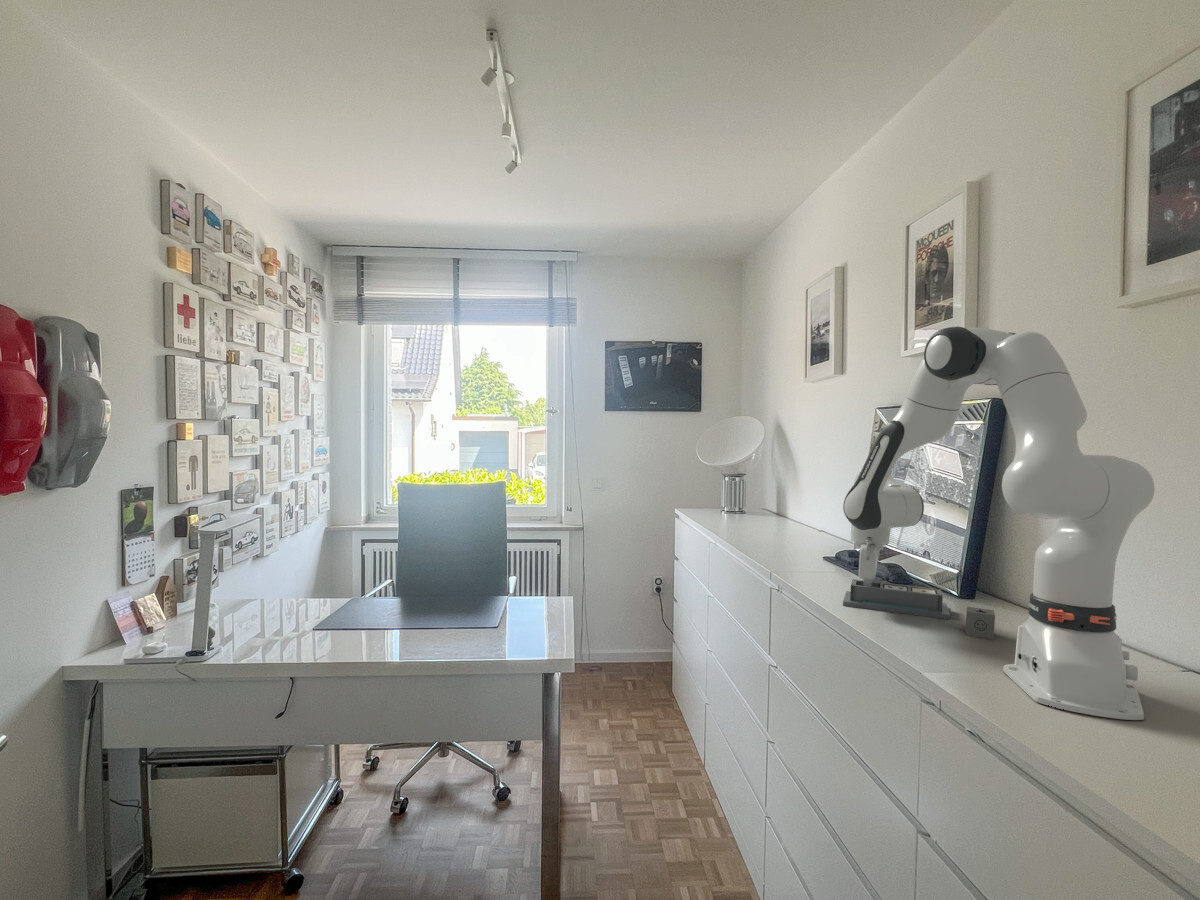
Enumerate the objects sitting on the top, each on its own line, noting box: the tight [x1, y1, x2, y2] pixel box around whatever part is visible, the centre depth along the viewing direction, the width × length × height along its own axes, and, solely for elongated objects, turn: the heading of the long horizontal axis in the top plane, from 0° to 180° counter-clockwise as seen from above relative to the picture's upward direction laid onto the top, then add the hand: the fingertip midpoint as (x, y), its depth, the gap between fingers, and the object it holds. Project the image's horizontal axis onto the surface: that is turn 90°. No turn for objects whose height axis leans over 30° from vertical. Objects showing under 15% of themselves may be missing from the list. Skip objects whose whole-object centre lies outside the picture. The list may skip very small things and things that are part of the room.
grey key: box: [884, 585, 907, 591], centre depth 160 cm, size 5×5×2 cm
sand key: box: [912, 588, 936, 594], centre depth 157 cm, size 5×5×2 cm
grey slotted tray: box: [842, 578, 951, 620], centre depth 160 cm, size 12×23×5 cm, turn 66°
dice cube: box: [965, 606, 996, 640], centre depth 139 cm, size 5×5×5 cm
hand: (867, 590), depth 162 cm, fingers closed, pressing on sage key
